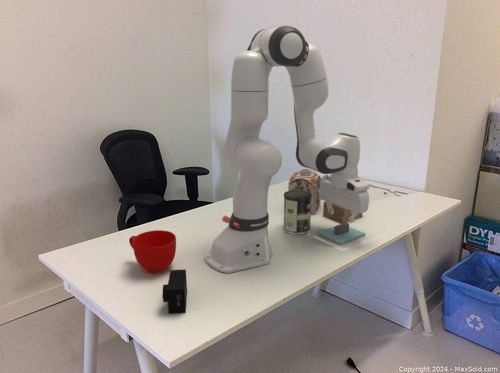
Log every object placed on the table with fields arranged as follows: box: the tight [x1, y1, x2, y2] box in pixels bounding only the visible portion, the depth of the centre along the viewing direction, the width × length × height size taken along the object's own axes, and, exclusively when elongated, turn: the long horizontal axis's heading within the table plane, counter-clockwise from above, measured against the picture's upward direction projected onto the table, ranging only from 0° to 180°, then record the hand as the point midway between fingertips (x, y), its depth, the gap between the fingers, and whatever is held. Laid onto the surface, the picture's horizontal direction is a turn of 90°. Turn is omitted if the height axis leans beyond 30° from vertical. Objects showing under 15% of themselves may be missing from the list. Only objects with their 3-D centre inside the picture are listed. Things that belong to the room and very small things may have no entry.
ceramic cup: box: [129, 229, 177, 274], centre depth 126 cm, size 13×17×10 cm
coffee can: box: [282, 190, 312, 235], centre depth 152 cm, size 10×10×14 cm
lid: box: [317, 222, 366, 245], centre depth 147 cm, size 13×11×5 cm
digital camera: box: [162, 269, 188, 315], centre depth 107 cm, size 10×5×7 cm, turn 6°
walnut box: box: [322, 201, 364, 225], centre depth 163 cm, size 12×10×7 cm
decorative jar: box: [287, 168, 322, 216], centre depth 171 cm, size 12×12×18 cm
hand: (340, 217), depth 145 cm, fingers open, 8 cm apart
